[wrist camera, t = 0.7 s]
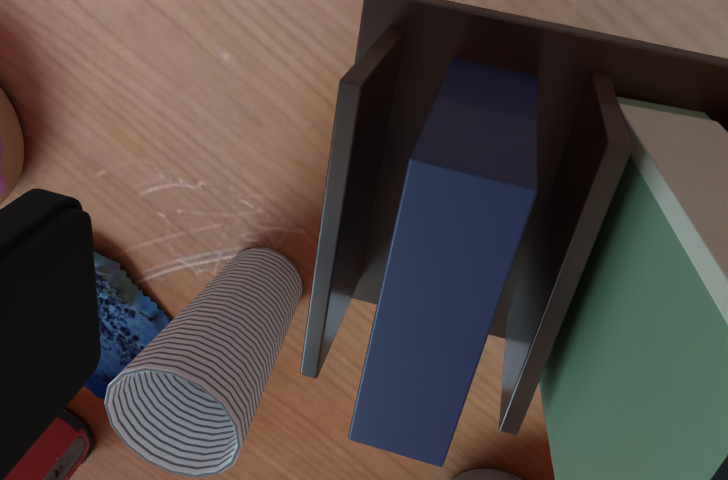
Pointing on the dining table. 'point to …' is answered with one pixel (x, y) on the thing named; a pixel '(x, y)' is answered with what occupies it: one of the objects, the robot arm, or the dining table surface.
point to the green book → (649, 315)
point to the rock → (121, 322)
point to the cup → (207, 368)
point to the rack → (555, 158)
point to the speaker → (56, 451)
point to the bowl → (486, 475)
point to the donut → (9, 147)
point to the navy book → (449, 258)
